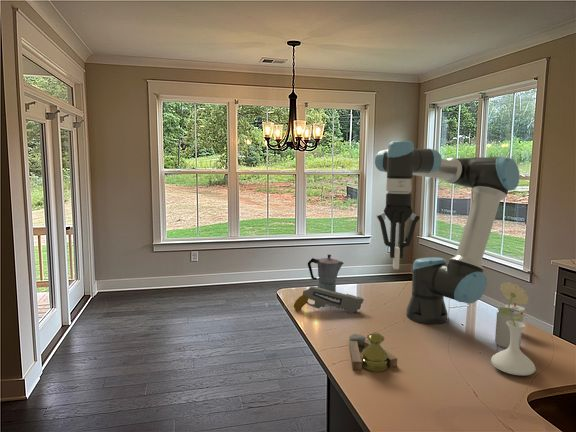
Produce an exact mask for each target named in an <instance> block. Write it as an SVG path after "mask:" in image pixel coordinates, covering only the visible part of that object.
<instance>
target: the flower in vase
mask: <svg viewBox="0 0 576 432" xmlns="http://www.w3.org/2000/svg"><path fill="white" fill-rule="evenodd" d="M499 290H500V292H502V295H503V296H504V297H505V298H506V299H507V300H508V301H509V303H508V305H509V306H508V310H506V309H505V306H504V307H503V306H500V307H499V308H498V309H497V312H499V311H500V312H502V313H504V314H506V315H508V314H510V316H511V313H510V310H509V307H510V304H512V303H513V304H514V303H516V305H518V306H521V305H522V306H523V305H528V303H529V300H530V299H529V295H527V291H526V290H524V288H522V287H520V286H519V284H516V283H515V284H514V283H513V282H509V281H507V282H503V283H502V284H500V288H499ZM525 316H526V314H523V315H518V316H516V317H514V318H512V316H511V319H512V321H507V322H506V324H507V325H508V327H509V330H510V345H509V347H508V348H507V349H505V348H504V349H503V350H501V351H498V352H497V353H494V354H493V355H492V356H491V359H490V362H491V364H492V365H493V367H495V368H496V369H497V370H499V371H502V372H504V373H506V374H510V375H512V376H513V375H514V376H531V375H533V374H534V373H535V372H536V368H537V367H536V366H535V364H534V362H533V361H532V360H531V359H530V358H529V357H528V356H527V355H525V354H524V353H523V352H522V351H521V349H520V347H519V338H520V334H521V332H522V331H523V330H524V329H525V328H526V327H527V325H526V324H525V323H524V322H518V321H514V320H513V319H519V318H522V317H525ZM522 333H523V332H522Z"/></svg>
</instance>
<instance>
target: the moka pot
mask: <svg viewBox="0 0 576 432" xmlns="http://www.w3.org/2000/svg"><path fill="white" fill-rule="evenodd" d="M331 257H332V254H327V257H324V258H323V257H321V258H313V257H312V258H311V259H310V260H309V261H308V262H307V267H308V270H309V274H310V277H311V279H312V280H317V279H318V283H317V287H318V288H322V289H326V290H330V291H334V292H337V291H336V289H337V288H336V287H337V286H336V282H337V281H336V280H337V278H338V274H339V271H340V269H341V268H342V266H343V265H344V262H343V261H342V260H338V259H336V258H331ZM312 263H314V264H317V275H318V278H317V277H314V273H313V269H312Z"/></svg>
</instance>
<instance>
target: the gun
mask: <svg viewBox="0 0 576 432" xmlns="http://www.w3.org/2000/svg"><path fill="white" fill-rule="evenodd" d="M309 300H311V301H314V303H310V302H309ZM364 300H365V298H363V297H361V296H356V295H352V294H348V293H347V294H345V293H341V292H338V291H336V292H334V291H330V290H326V289H322V288H318V286H313V285H310V286H309V288H308V289H304V290H303V291H302V295H301V296H298V298H297V299H296V300H295V302H294V304H293V308H294V310H295V311H297V312H301V310H302V309H303V307H304V306H305V305H308V306H309V307H313V308H315V309H318V310H320V309H321V308H325V306H329V307H333V308H337V309H339V310H343V311H345V312H346V313H349V314H354V312H355V313H356V312H358V310H360V309H361V307H362V304H364Z"/></svg>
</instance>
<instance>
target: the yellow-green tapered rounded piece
mask: <svg viewBox="0 0 576 432" xmlns="http://www.w3.org/2000/svg"><path fill="white" fill-rule="evenodd" d="M366 339H367V340H369V341H370V342H371V344H370V345H369V346H367V347H366V348H362V351H361V354H362V357H361V367H363V368H364V369H366V370H367V371H371V372H375V373H379V372H384V371H386V370H388V367H389V366H388V360H387V358H388V352H389V351H388V350H386V348H384V347H383V346H382V345H381V344H382V343H383V342H384V341H385V337H384V336H383V335H382V334H380V333H378V332H374V331H373V332H371V333H368V334H367V335H366ZM387 351H388V352H387Z"/></svg>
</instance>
